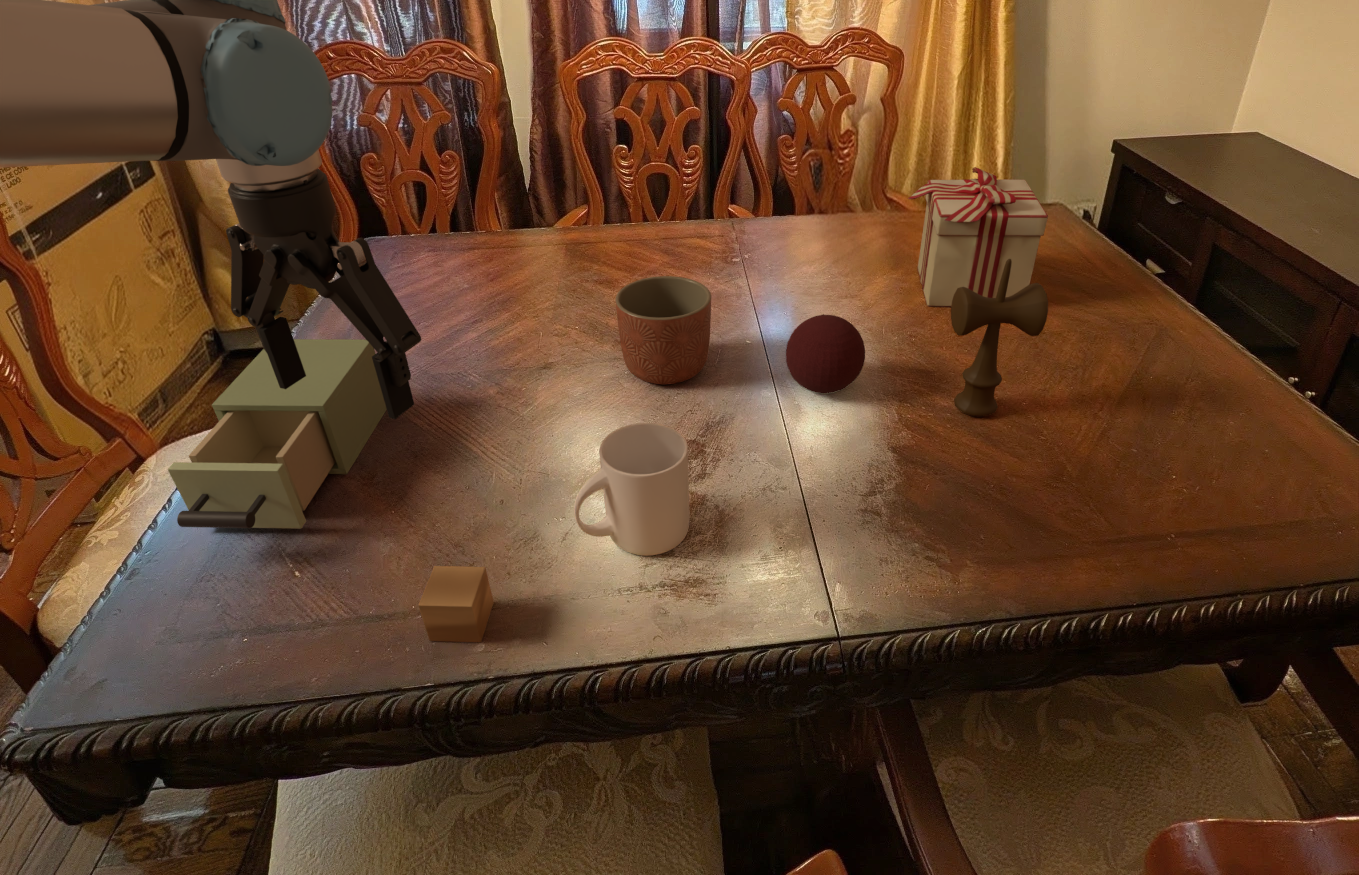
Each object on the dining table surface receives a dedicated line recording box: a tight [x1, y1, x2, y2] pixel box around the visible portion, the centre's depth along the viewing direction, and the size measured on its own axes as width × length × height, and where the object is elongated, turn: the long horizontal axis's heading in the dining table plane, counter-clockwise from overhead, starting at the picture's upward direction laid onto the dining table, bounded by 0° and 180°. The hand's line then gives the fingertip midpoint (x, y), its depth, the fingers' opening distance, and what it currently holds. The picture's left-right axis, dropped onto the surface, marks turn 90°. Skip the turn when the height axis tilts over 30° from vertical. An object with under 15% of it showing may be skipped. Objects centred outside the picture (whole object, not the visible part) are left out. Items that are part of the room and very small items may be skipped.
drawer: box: [167, 411, 336, 530], centre depth 86 cm, size 18×11×8 cm, turn 177°
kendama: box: [950, 259, 1049, 418], centre depth 94 cm, size 6×10×20 cm, turn 90°
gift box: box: [907, 166, 1049, 308], centre depth 122 cm, size 17×18×17 cm
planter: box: [614, 275, 712, 385], centre depth 106 cm, size 12×12×11 cm
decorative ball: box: [785, 314, 866, 395], centre depth 102 cm, size 10×10×10 cm
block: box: [418, 565, 495, 643], centre depth 73 cm, size 5×5×5 cm
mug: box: [573, 422, 691, 556], centre depth 80 cm, size 9×12×11 cm
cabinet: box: [211, 338, 387, 475], centre depth 96 cm, size 15×13×10 cm
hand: (346, 396), depth 77 cm, fingers open, 13 cm apart
